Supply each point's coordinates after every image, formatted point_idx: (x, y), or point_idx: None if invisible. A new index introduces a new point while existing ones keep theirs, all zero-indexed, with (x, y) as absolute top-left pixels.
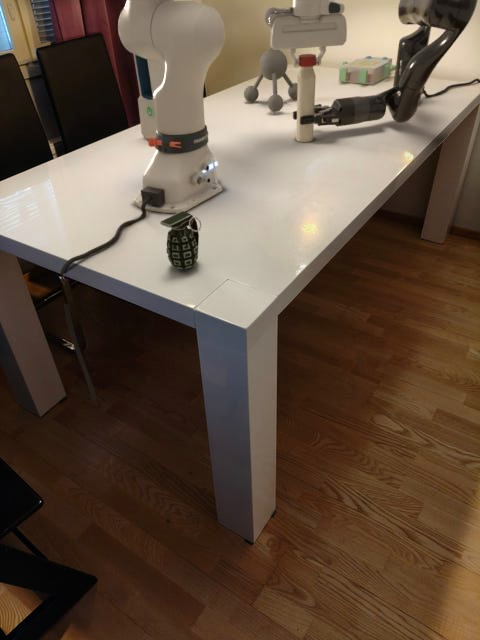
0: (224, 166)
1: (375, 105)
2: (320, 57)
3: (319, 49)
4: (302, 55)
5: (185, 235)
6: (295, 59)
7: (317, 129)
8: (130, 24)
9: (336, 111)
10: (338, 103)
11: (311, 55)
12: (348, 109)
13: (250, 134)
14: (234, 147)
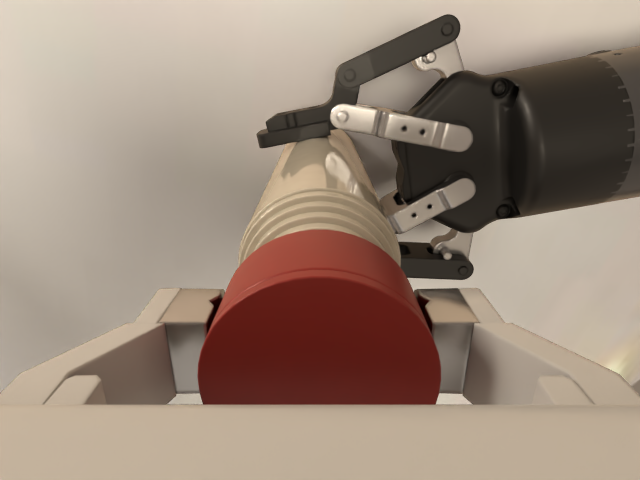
0: (19, 361)
1: None
2: (483, 402)
3: (535, 402)
4: (253, 358)
5: None
6: (158, 399)
7: (413, 17)
8: None
9: (489, 199)
10: (523, 186)
11: (374, 401)
12: (556, 210)
13: (66, 15)
14: (18, 190)
